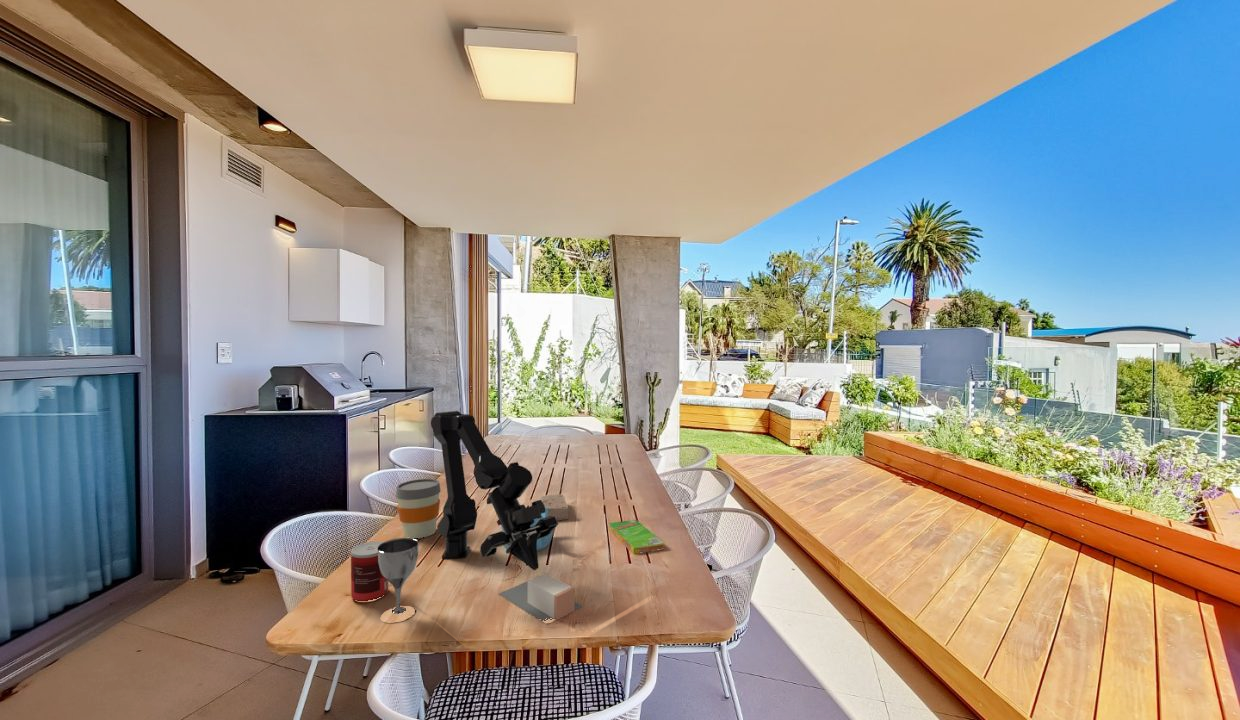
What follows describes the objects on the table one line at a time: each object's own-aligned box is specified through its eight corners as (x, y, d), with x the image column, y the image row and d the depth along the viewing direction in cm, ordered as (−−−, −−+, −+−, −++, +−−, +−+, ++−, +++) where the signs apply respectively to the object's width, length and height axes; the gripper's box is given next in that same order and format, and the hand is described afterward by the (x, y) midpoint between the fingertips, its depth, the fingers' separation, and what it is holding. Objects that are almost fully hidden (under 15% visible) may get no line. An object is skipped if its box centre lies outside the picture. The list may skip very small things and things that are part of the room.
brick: (539, 506, 177) (539, 493, 176) (563, 505, 179) (563, 492, 178) (543, 523, 161) (543, 509, 160) (568, 521, 162) (569, 507, 162)
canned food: (378, 583, 118) (378, 538, 118) (394, 594, 113) (394, 547, 113) (345, 595, 112) (344, 548, 112) (360, 607, 107) (360, 558, 107)
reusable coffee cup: (449, 526, 154) (448, 479, 154) (426, 542, 142) (424, 491, 142) (414, 524, 157) (412, 477, 156) (388, 539, 145) (386, 489, 144)
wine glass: (423, 604, 109) (423, 537, 109) (409, 624, 101) (409, 552, 101) (387, 604, 109) (387, 537, 108) (370, 624, 101) (370, 552, 100)
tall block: (527, 580, 109) (556, 596, 102) (545, 573, 113) (574, 588, 106) (527, 602, 109) (556, 620, 102) (545, 594, 113) (574, 610, 106)
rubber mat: (497, 596, 113) (497, 593, 113) (533, 581, 120) (533, 579, 120) (547, 627, 101) (547, 624, 100) (583, 609, 108) (583, 606, 108)
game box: (632, 558, 136) (607, 529, 155) (664, 553, 140) (635, 525, 159) (633, 547, 136) (607, 519, 155) (664, 543, 140) (636, 516, 159)
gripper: (487, 499, 107) (516, 565, 100) (553, 482, 121) (584, 539, 114) (468, 526, 113) (495, 590, 106) (534, 507, 126) (561, 562, 119)
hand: (536, 569), depth 111 cm, fingers closed
